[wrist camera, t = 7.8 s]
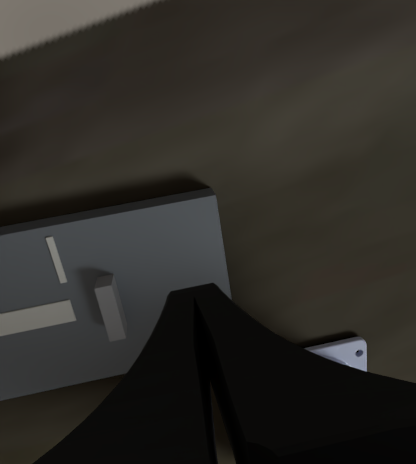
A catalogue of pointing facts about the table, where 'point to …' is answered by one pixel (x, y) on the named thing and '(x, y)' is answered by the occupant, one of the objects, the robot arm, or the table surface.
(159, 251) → the console
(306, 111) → the table surface
